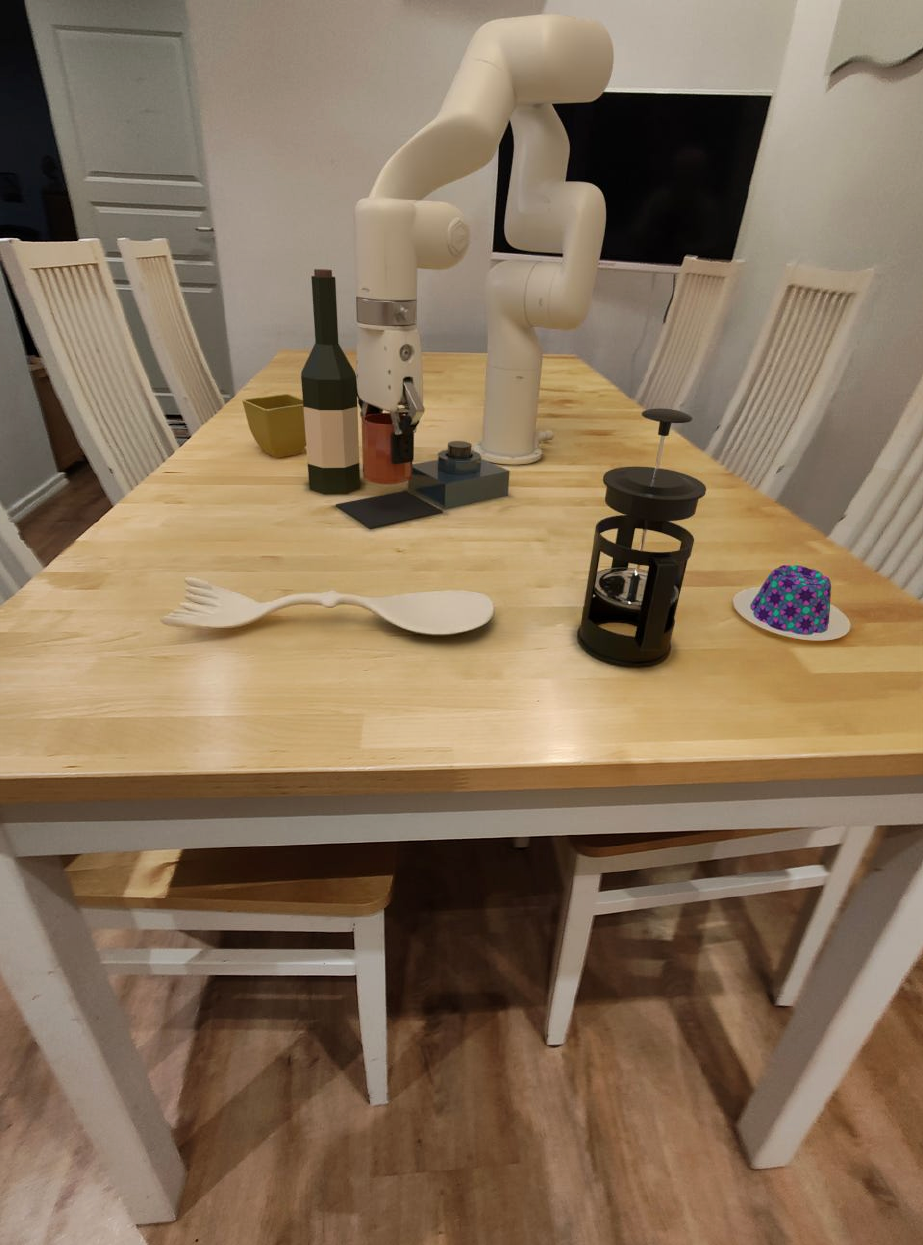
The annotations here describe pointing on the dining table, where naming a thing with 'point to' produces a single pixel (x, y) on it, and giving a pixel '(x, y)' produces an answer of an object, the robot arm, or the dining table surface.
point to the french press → (639, 559)
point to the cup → (381, 451)
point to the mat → (388, 509)
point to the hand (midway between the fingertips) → (387, 454)
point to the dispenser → (458, 480)
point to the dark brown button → (459, 450)
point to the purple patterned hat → (794, 605)
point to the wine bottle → (329, 400)
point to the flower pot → (277, 424)
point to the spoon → (404, 610)
